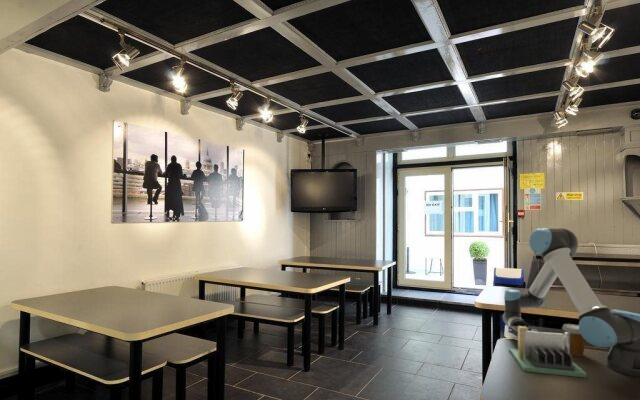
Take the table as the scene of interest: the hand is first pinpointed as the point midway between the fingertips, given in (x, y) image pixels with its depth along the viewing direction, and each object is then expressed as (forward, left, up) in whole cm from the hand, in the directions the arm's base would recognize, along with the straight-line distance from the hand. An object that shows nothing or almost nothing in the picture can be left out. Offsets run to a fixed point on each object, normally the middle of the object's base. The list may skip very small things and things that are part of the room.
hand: (534, 341), depth 162 cm
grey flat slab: (-4, +1, -6) cm, 7 cm away
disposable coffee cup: (-3, -24, -8) cm, 26 cm away
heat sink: (-7, +3, -6) cm, 10 cm away
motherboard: (-4, 0, -8) cm, 9 cm away
